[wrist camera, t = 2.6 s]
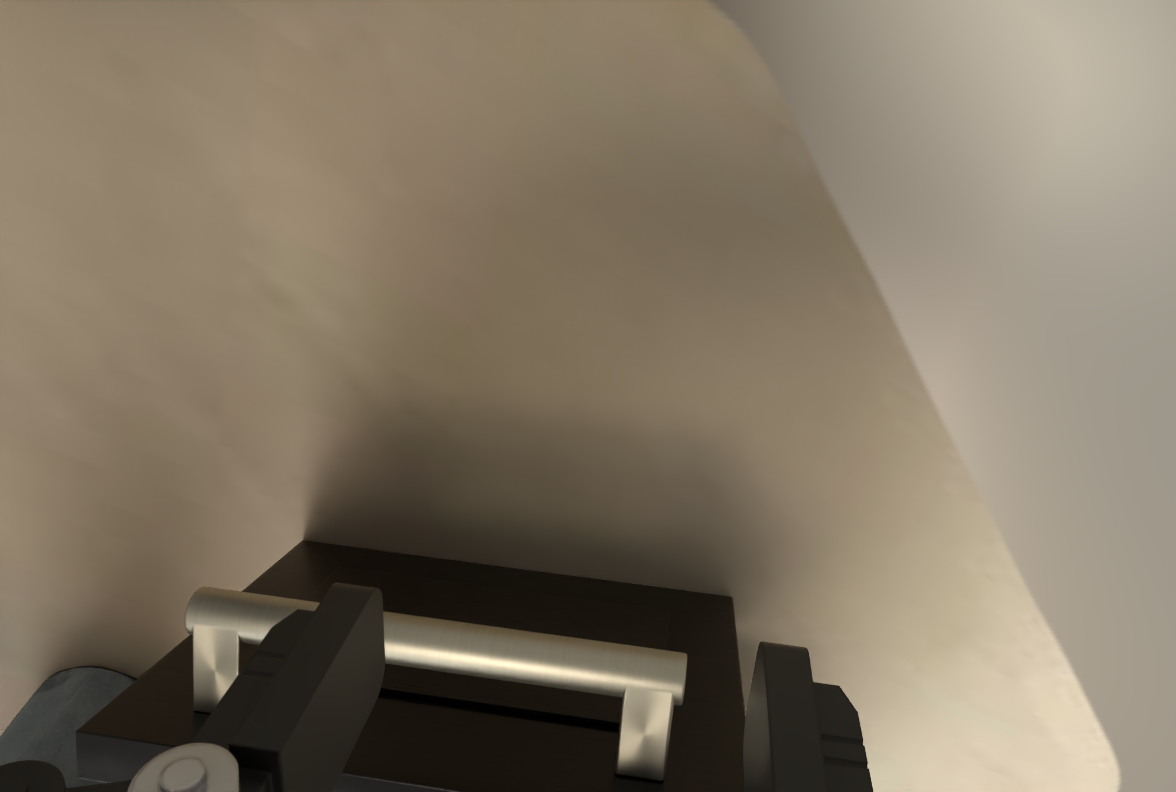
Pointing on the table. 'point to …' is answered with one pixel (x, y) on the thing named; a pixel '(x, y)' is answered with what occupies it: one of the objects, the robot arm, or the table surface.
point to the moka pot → (60, 719)
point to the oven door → (472, 679)
